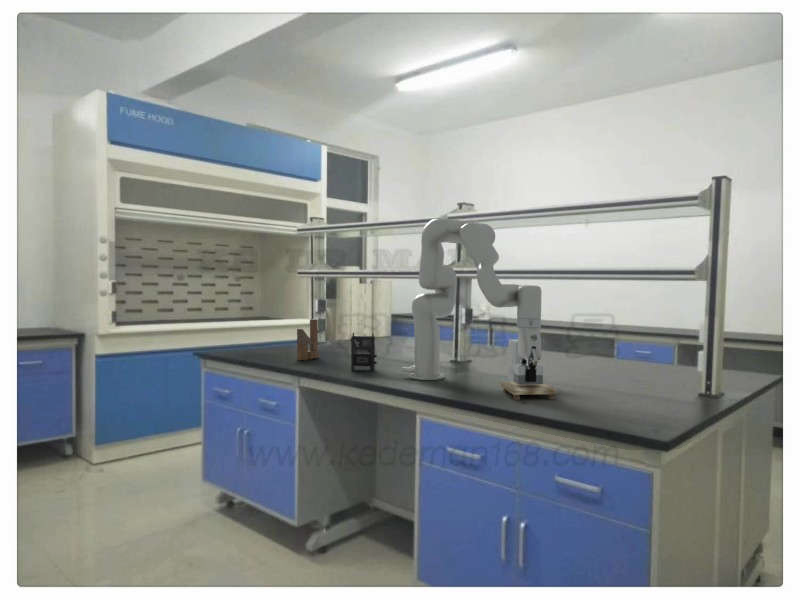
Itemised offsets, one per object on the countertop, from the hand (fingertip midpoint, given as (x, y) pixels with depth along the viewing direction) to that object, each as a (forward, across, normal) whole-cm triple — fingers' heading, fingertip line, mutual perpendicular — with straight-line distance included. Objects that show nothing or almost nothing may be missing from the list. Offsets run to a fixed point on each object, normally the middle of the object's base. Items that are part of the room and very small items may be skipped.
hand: (527, 379), depth 181 cm
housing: (+1, 0, 0) cm, 1 cm away
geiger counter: (+5, +51, +51) cm, 72 cm away
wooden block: (+6, +82, +75) cm, 111 cm away
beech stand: (+5, 0, 0) cm, 5 cm away
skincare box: (+5, +19, -4) cm, 20 cm away
